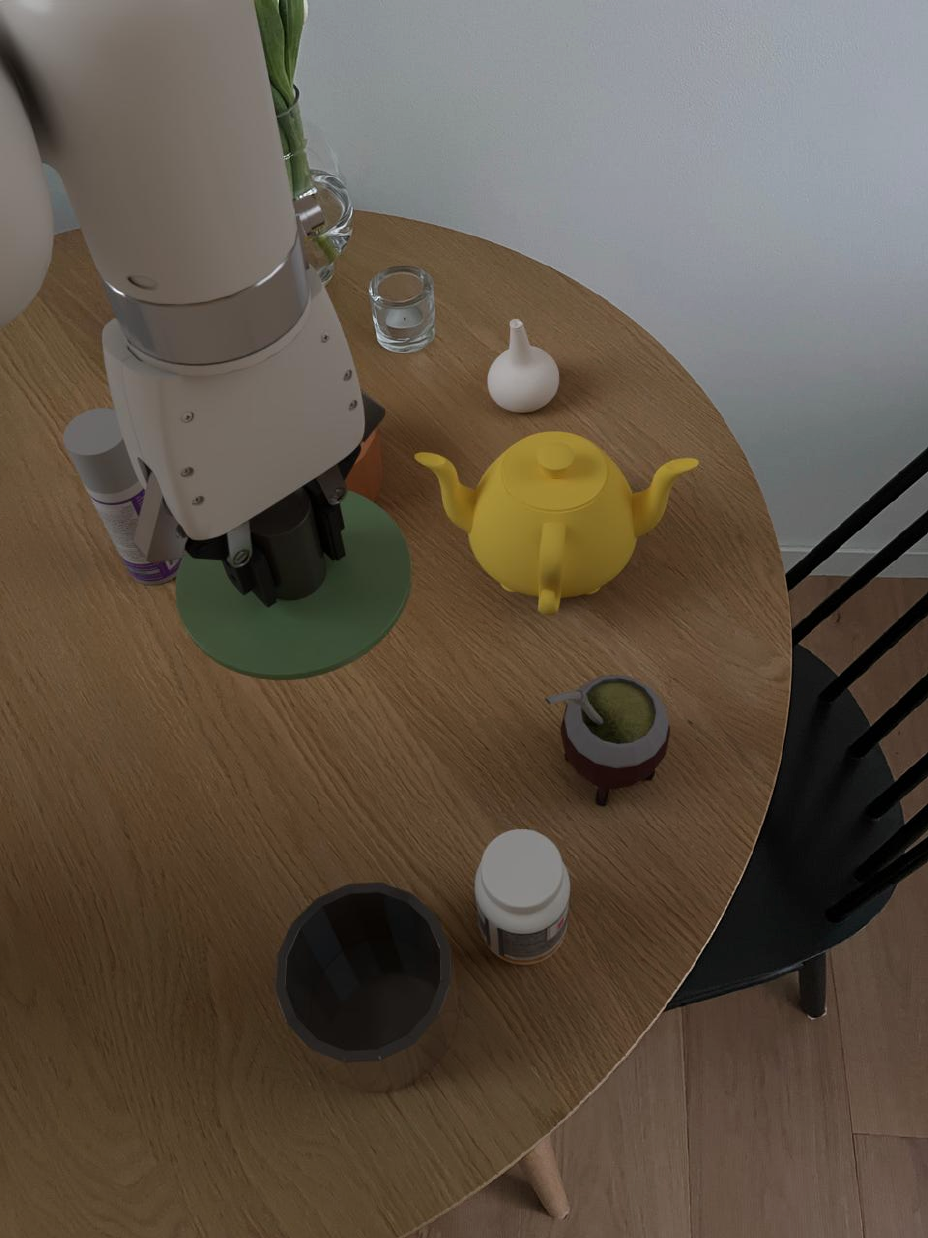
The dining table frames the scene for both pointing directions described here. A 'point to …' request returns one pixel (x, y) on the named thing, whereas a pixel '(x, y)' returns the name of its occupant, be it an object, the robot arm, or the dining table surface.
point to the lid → (301, 593)
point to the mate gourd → (613, 732)
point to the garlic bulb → (522, 374)
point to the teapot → (553, 514)
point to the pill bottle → (522, 897)
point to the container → (113, 488)
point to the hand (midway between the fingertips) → (290, 563)
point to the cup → (369, 986)
